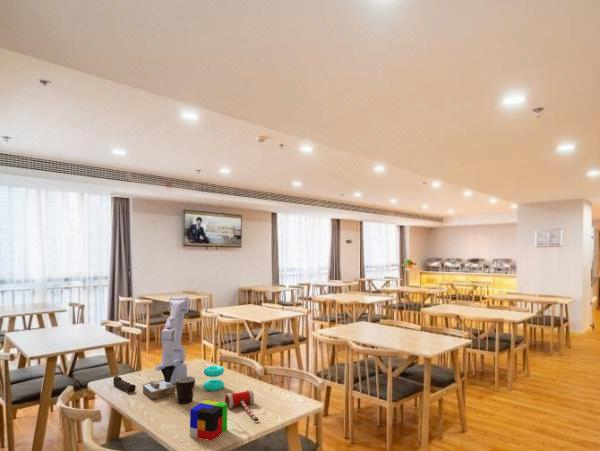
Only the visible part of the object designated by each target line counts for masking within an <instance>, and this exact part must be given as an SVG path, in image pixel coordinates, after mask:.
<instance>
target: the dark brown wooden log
mask: <svg viewBox="0 0 600 451" xmlns="http://www.w3.org/2000/svg"><path fill="white" fill-rule="evenodd" d="M113 385H114V386H115V387H116V388H120V389H122V390H124V391H126V392H127V394H132V393H134V392H136V387H137V386H136V384H131V383H130V382H127V381H126V380H124V379H123V378H122V377H120V376H118V375H115V376H113Z"/></svg>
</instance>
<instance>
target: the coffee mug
mask: <svg viewBox="0 0 600 451" xmlns="http://www.w3.org/2000/svg"><path fill="white" fill-rule="evenodd" d="M195 382H196V378H195V376H191V375H189V376H188V375H187V376H186V377H180V378H178V379H176V383H175V386H176V388H175V389H176V396H177V398H176V399H177V404H179V405H188V404H191V403H193V401H194V400H193V398H194V391H195V385H196V384H195Z"/></svg>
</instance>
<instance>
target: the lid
mask: <svg viewBox="0 0 600 451" xmlns="http://www.w3.org/2000/svg"><path fill="white" fill-rule="evenodd" d="M159 381H160V380H159ZM150 383H151V384H147V383H145V384H146V385H143V384H142V388H143V387H145V388H146V389H147V390H149V391H150V392H151V393H152V391H157V390H161V389H165V388H170V387H174V386H175V385H174V384H170V383H169V382H165V381H160V382H156V380H150Z"/></svg>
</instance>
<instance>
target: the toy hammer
mask: <svg viewBox="0 0 600 451" xmlns="http://www.w3.org/2000/svg"><path fill="white" fill-rule="evenodd" d="M254 396H255V395H254V392H253V390H252V389H250V388H249V389H247V390H246V391H241V392H235V393H231V392H229V393H228V392H227V393H225V397H224V403H227V409H228V408H229V409H228V410H230V408H231V409H233V408H234V407H238V406H242V407H243V408H244V409H245V411H247V413H248V414H249V416H250V417H251V418H252V419H253V420H254V421H258V420H259V418H258V417H257V416H255V414H254V413H253V411H251V409H250V408H249V407H248V405H249V404H251V405H253V404H254V402H255V397H254ZM253 420H252V421H253ZM254 421H253V422H254ZM258 422H259V421H258Z"/></svg>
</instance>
